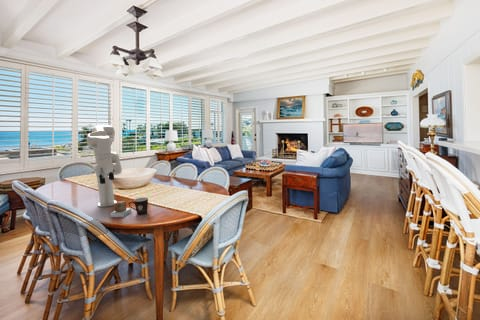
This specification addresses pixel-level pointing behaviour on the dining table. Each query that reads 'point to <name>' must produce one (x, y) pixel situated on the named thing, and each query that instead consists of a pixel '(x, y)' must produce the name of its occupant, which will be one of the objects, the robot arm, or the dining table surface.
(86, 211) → the dining table surface
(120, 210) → the walnut block
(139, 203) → the coffee mug
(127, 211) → the trivet
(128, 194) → the dining table surface
